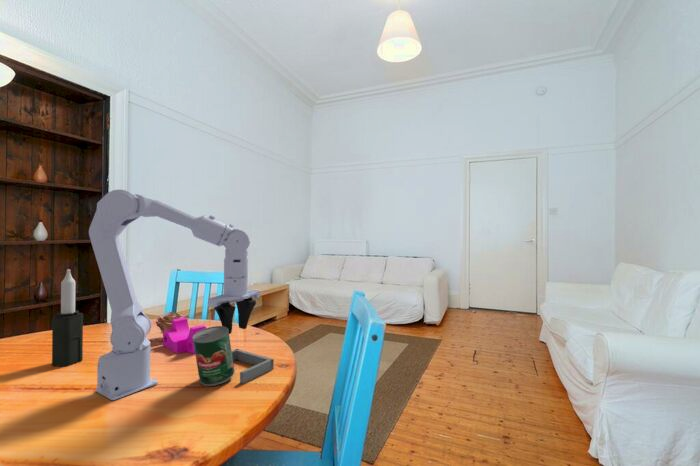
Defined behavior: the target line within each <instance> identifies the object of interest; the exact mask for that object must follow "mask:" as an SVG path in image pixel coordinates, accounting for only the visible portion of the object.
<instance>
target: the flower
mask: <svg viewBox="0 0 700 466" xmlns="http://www.w3.org/2000/svg"><path fill="white" fill-rule="evenodd" d="M187 317H188V316H187V314H186V315H185V314H183V312H182V313H178V312H175V313H174V312H173V311H169V312H167V313H165V315H163V314H160V315H158V317H157V321H155V324H156V327H158V328H157V329H158V330H160V332H157V333H159V334H162V335H163V331H165V330H170V329H172V320H173V319H179V318H187Z"/></svg>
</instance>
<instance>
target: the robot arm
mask: <svg viewBox="0 0 700 466" xmlns="http://www.w3.org/2000/svg"><path fill="white" fill-rule="evenodd" d="M140 217H142V218H143V217H144V218H153V217H158V218H160V219H163V220H165V221H168V222H171V223H174V224H176V225H179V226H182V227H183V228H187V229H189V230H190V231H191V233H192V235H193V237H194V238H197V239H199V240H201V241H205V242H207V243H209V244H212V245H215V246H217V247H221V246H223V247H224V248H225V249H224V250H225V251H224V253H225V254H224V255H225V256H224V260H223V294H220V295H217V296H213V297H209V298H207V307H208V308H213V309H214V310H215V312H216V313H217V315H218V316H217V317H218V318H219V319H220V323H221V326H224V327H227V328H228V330H229V335H230V334H232V332H233V331H232V330H233V319H234V314H235V311H236V308H237V314H238V315H237V319H238V321H237V322H238V328H239V329H241V330H242V329H243V330H246V329H247V327H248V324H249V321H250V318H251V317H250V316H251V314H252V311H253V310H254V308H255V306H256V305H257V301H256V300H255V299H260V297H261V291H260V289H258V290H257V289H252V290H248V287H249V284H248V283H249V282H248V281H249V280H248V278H249V277H248V276H249V275H248V274H249V273H248V270H249V269H248V268H249V266H248V265H249V259H248V255H249V254H248V248H249V247H250V243H251V241H250V238H249V235H248V234H247V233H246V232H245V231H244V230H242V229H238V228H234V225H233V224H226V223H224V222H222V221H219V220H216V216H214V215H212V214H210V215H209V216H207V215H206V214H205V215H201V216H198V217H195V216H193V215H191V214H189V213H186V212H184V211H182V210H180V209H178V208H175V207H173V206H171V205H169V204H166V203H164V202H162V201H160V200H157V199H155V198H151V197H148V196H145V195H142V194H137V193H135V194H133V193H132V192H130V191H128V190H125V189H114V190H111V191H109V192H107V193H106V194H105V195H104V196H103V197H102V198H100V200H99V201H97V203H96V210H95V212H94V216H93V218H92V220H91V223H90V226H89V229H88V236H89V239H90V242H91V246H92V250H93V254H94V257H95V260H96V262H97V266H98V269H99V270H98V271H99V273H100V276H101V279H102V282H103V287H104V289H105V293H106V296H107V300H108V302H109V306H110V309H111V310H110V311H111V314H110V316H111V317H110V325H111V334H110V337H109V339H110V344H111V346H112V347H111V348H112V350H110V351H109V352H108V353H105V354H103V355H101V356H99V358H98V361H97V372H96V373H97V375H96V376H97V379H96V382H97V383H96V384H97V385H96V386H97V388H95V392H97V394H100V395H102V396H104V397H105V398H107V399H109V400H111V401H116V400H118V399H121V398H124V397H126V396H129V395H131V394H134V393H137V392H139V391H143V390H145V389H147V388H150V387H153V386H155V385H159V381H158V380H156V379H154V378H152V377H151V341H150V340H149V339H148V337H147V335H148V334H149V333H150V332H151V329H152V321H151V319H150V318H149V316H148V315H146V314H145V313H144V311H143V308H142V306H141V304H140V303H139V302H138V299H137V295H136V292H135V288H134V286H133V282H132V278H131V275H130V272H129V268H128V265H127V261H126V258H125V254H124V250H123V247H122V243H121V239H120V237H119V236H120V235H121V234H122V232H123V231H124V230H125V229H126V228H127V226H128V225H129V224H131V223H132V222H134V221H136V220H137V219H139V218H140ZM232 303H235V304H236V306H233V305H232Z"/></svg>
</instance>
